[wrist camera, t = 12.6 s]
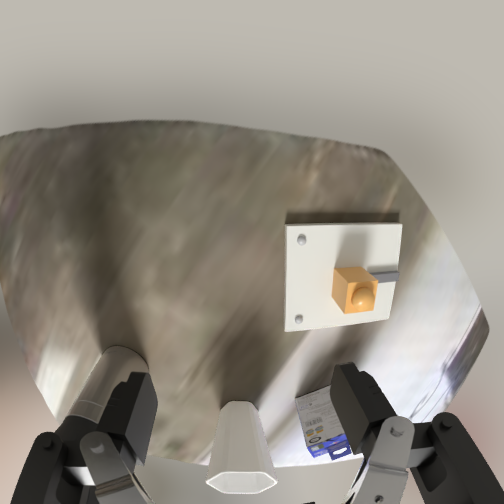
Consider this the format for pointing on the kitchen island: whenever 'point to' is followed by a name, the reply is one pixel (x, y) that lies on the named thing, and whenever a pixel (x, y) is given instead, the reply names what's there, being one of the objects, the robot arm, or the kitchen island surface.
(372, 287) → the cube with dome knob
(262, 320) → the kitchen island surface
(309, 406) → the ink cartridge box
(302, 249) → the plate
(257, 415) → the cup
